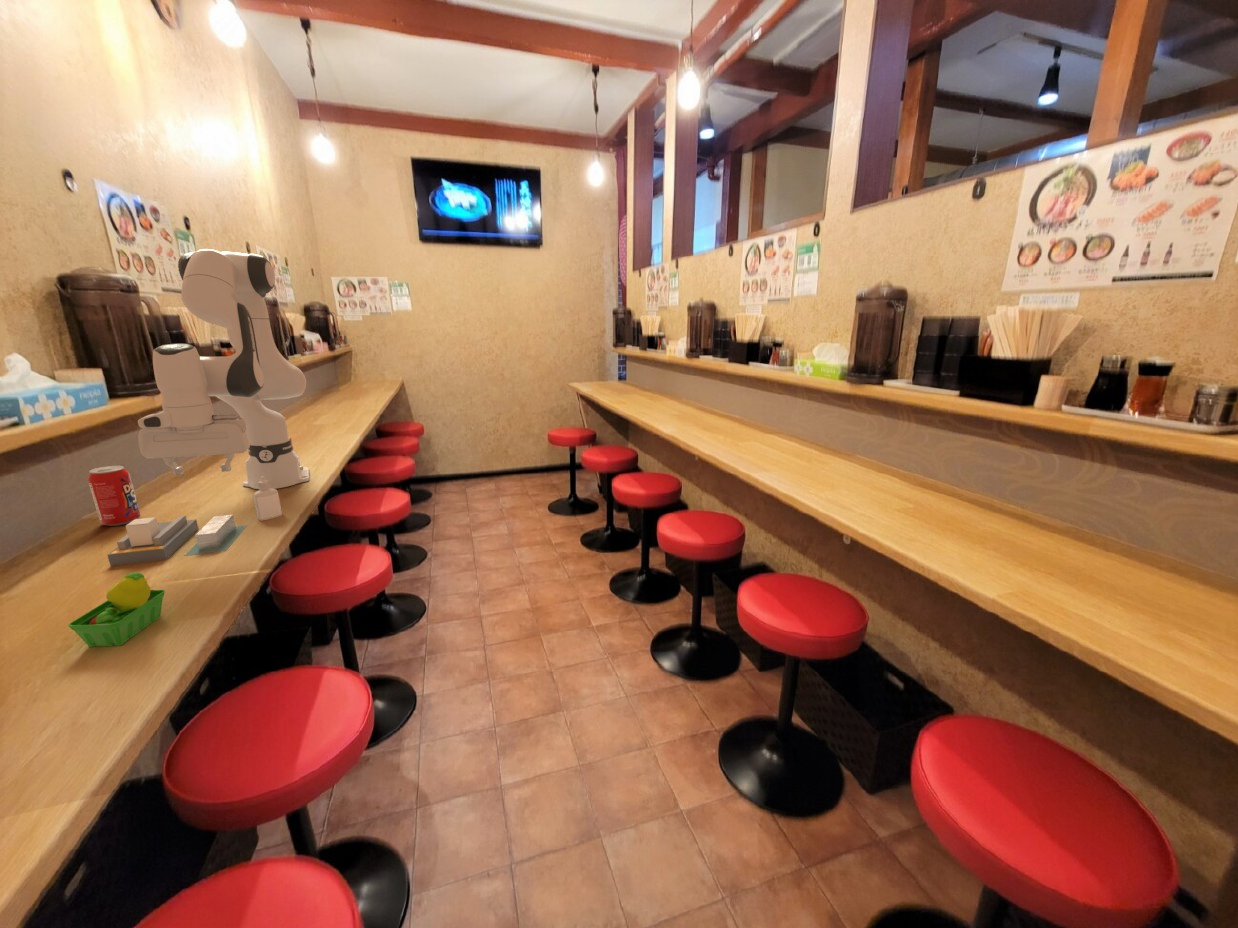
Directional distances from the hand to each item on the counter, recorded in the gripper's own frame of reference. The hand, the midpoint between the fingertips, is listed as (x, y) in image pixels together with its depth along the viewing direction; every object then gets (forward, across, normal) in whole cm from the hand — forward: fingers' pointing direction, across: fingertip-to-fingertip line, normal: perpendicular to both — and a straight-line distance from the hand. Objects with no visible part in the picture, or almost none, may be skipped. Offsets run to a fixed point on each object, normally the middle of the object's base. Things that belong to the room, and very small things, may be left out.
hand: (203, 472), depth 120 cm
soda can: (+18, +28, -21) cm, 39 cm away
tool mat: (+18, 0, 0) cm, 18 cm away
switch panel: (+18, +12, 0) cm, 21 cm away
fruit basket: (+18, +1, +39) cm, 43 cm away
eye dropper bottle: (+18, -8, -13) cm, 23 cm away
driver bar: (+18, 0, 0) cm, 18 cm away
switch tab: (+15, +12, +4) cm, 19 cm away
